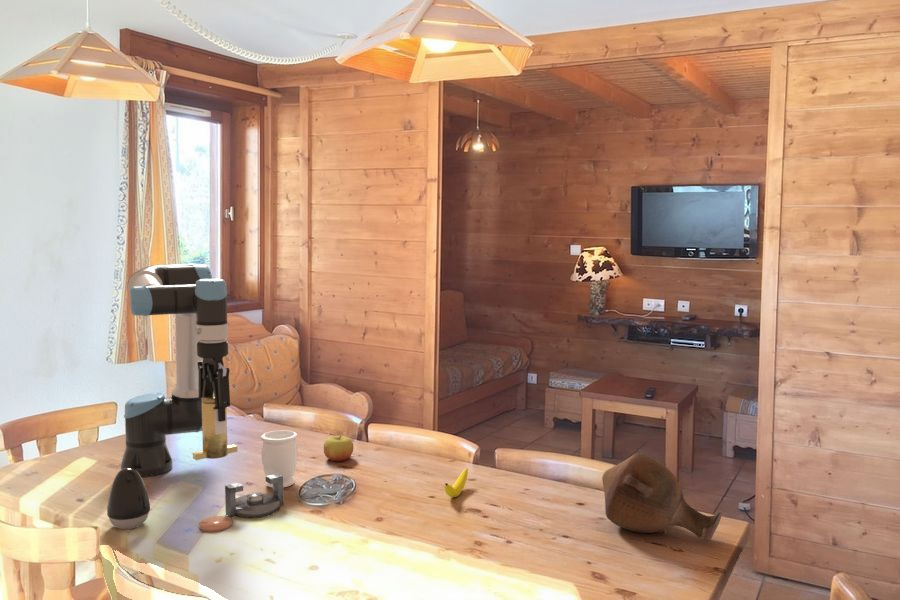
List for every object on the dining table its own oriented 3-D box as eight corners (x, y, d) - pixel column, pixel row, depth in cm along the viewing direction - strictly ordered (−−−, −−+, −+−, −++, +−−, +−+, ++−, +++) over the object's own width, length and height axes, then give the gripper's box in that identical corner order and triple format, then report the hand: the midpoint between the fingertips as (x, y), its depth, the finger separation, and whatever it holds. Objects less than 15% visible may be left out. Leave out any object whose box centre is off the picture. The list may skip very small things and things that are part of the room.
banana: (471, 484, 233) (471, 463, 232) (451, 506, 215) (451, 484, 215) (462, 483, 234) (462, 462, 233) (441, 505, 216) (441, 483, 215)
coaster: (194, 524, 201) (194, 521, 201) (223, 517, 206) (223, 513, 206) (206, 534, 195) (206, 530, 195) (236, 526, 200) (236, 522, 200)
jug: (583, 528, 200) (699, 577, 185) (591, 463, 193) (712, 508, 178) (615, 491, 216) (724, 533, 201) (623, 429, 209) (737, 468, 194)
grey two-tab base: (217, 509, 212) (217, 480, 211) (269, 496, 222) (269, 468, 221) (239, 523, 202) (238, 493, 201) (292, 509, 212) (291, 480, 211)
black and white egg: (109, 536, 194) (106, 477, 192) (106, 522, 203) (103, 465, 201) (153, 529, 198) (151, 471, 197) (148, 515, 207) (146, 459, 206)
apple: (359, 458, 257) (359, 434, 257) (340, 466, 249) (340, 441, 248) (336, 453, 263) (336, 430, 262) (317, 460, 255) (316, 436, 254)
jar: (289, 491, 226) (288, 440, 225) (256, 488, 228) (255, 438, 227) (303, 479, 237) (302, 430, 235) (271, 476, 239) (270, 428, 237)
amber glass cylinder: (189, 456, 198) (187, 398, 196) (230, 448, 205) (229, 392, 203) (199, 462, 193) (197, 402, 192) (240, 453, 201) (239, 396, 199)
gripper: (182, 337, 201) (185, 425, 203) (214, 347, 187) (216, 441, 189) (210, 334, 206) (213, 420, 208) (243, 343, 191) (245, 435, 194)
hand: (214, 430), depth 199 cm, fingers closed on amber glass cylinder, 6 cm apart
